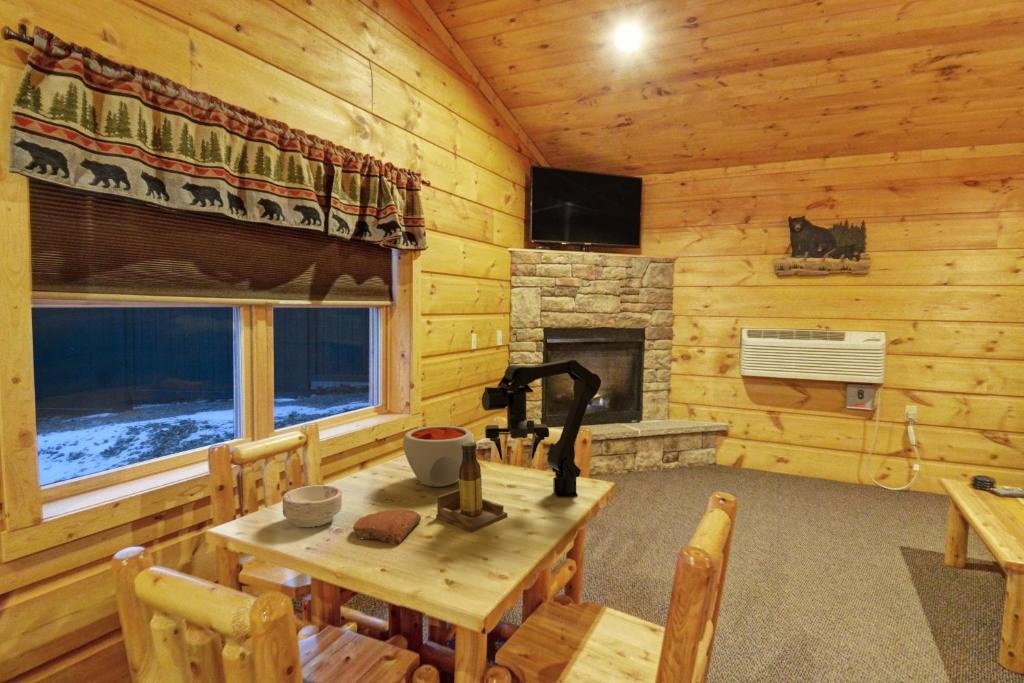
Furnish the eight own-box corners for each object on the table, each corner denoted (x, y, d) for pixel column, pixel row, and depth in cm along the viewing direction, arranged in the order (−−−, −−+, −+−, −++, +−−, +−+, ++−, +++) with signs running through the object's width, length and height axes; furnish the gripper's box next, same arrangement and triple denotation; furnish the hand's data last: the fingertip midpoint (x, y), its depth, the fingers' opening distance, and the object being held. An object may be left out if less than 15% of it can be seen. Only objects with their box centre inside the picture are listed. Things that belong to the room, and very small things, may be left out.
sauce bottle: (477, 507, 155) (476, 439, 153) (486, 515, 149) (486, 444, 148) (455, 511, 152) (455, 442, 150) (464, 519, 146) (463, 447, 145)
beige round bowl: (353, 514, 152) (352, 486, 152) (318, 536, 138) (318, 506, 137) (308, 508, 157) (307, 481, 157) (270, 528, 143) (269, 499, 142)
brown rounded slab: (373, 499, 150) (423, 511, 147) (369, 522, 150) (419, 535, 147) (347, 512, 136) (402, 526, 133) (342, 538, 135) (397, 552, 132)
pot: (488, 477, 185) (488, 426, 183) (449, 500, 163) (448, 442, 162) (430, 468, 195) (430, 419, 194) (386, 488, 174) (386, 433, 173)
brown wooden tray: (507, 516, 151) (507, 495, 150) (471, 532, 140) (471, 509, 140) (472, 504, 160) (472, 484, 160) (436, 518, 150) (435, 496, 149)
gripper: (486, 413, 151) (486, 468, 152) (552, 412, 153) (552, 466, 154) (484, 406, 162) (485, 457, 163) (546, 405, 164) (546, 455, 165)
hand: (516, 459), depth 161 cm, fingers open, 9 cm apart
